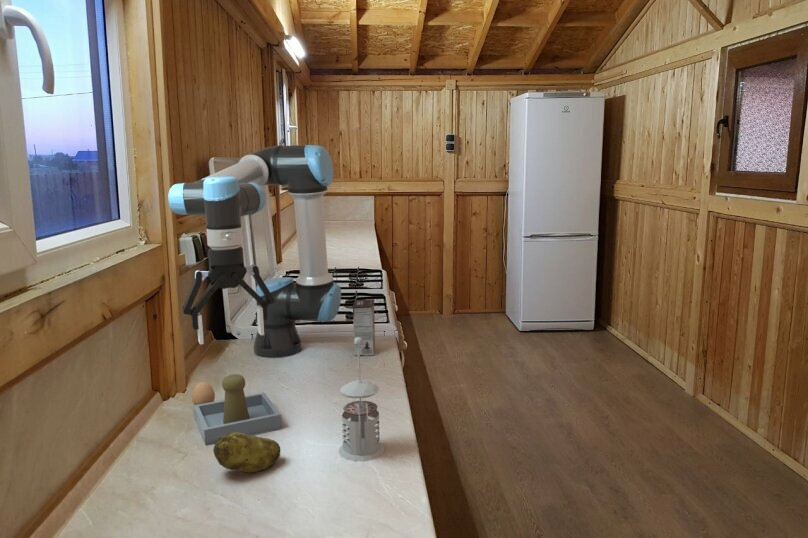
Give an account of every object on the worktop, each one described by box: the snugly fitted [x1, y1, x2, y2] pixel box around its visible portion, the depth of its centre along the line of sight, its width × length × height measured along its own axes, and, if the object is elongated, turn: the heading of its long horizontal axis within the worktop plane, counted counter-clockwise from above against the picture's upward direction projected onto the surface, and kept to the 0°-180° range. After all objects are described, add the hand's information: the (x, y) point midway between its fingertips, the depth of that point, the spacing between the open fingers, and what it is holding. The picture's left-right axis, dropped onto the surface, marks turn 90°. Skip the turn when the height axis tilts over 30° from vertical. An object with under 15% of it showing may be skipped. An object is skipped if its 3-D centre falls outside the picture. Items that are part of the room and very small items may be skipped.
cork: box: [221, 374, 250, 424], centre depth 143 cm, size 6×6×11 cm
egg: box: [191, 381, 216, 406], centre depth 153 cm, size 5×5×7 cm
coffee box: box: [352, 299, 376, 356], centre depth 194 cm, size 9×6×16 cm
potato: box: [213, 433, 281, 473], centre depth 123 cm, size 8×13×8 cm, turn 104°
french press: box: [338, 337, 385, 462], centre depth 128 cm, size 10×12×25 cm
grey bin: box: [193, 392, 283, 446], centre depth 144 cm, size 17×15×4 cm
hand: (231, 338), depth 141 cm, fingers open, 13 cm apart
